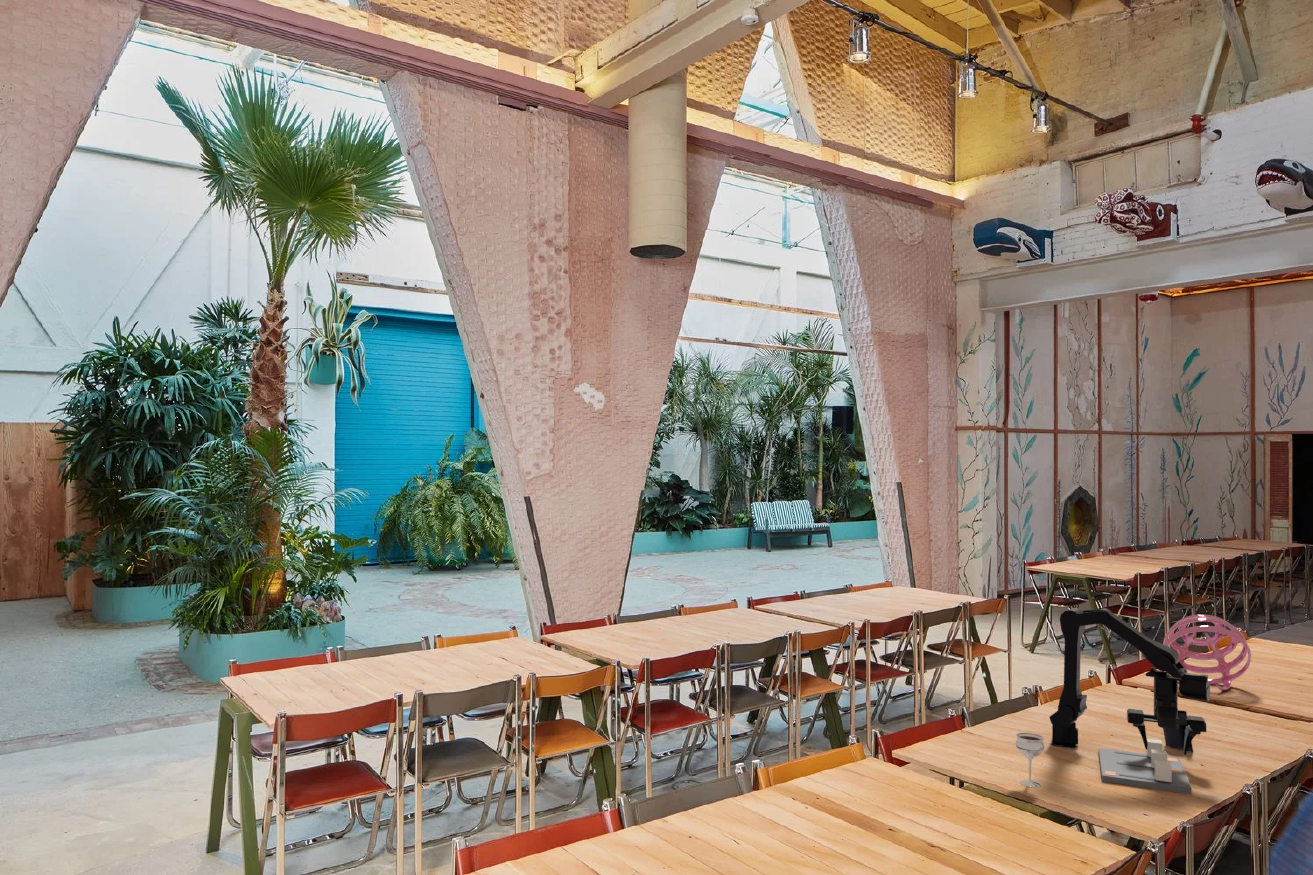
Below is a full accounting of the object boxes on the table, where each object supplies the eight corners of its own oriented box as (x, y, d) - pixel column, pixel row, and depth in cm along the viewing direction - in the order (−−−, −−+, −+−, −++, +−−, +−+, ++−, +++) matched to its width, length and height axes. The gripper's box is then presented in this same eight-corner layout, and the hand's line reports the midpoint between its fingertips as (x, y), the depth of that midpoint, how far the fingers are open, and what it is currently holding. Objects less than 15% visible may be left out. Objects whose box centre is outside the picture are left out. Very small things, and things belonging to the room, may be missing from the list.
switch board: (1102, 781, 230) (1102, 774, 230) (1098, 752, 253) (1098, 747, 253) (1191, 793, 222) (1191, 787, 222) (1179, 763, 244) (1179, 757, 244)
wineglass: (1031, 790, 223) (1031, 742, 223) (1009, 781, 229) (1009, 734, 229) (1050, 785, 226) (1050, 738, 227) (1028, 777, 232) (1028, 731, 233)
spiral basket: (1247, 647, 308) (1234, 594, 329) (1158, 656, 323) (1150, 605, 344) (1265, 703, 318) (1251, 649, 339) (1178, 710, 333) (1169, 657, 354)
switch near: (1155, 779, 226) (1155, 764, 226) (1154, 775, 229) (1154, 759, 229) (1171, 782, 224) (1171, 766, 224) (1170, 777, 227) (1170, 762, 228)
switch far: (1147, 756, 244) (1147, 741, 244) (1146, 752, 247) (1146, 738, 247) (1162, 758, 243) (1162, 743, 243) (1160, 754, 246) (1160, 740, 246)
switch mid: (1152, 767, 235) (1152, 752, 235) (1151, 763, 238) (1151, 748, 238) (1167, 769, 233) (1167, 754, 233) (1166, 765, 236) (1165, 750, 237)
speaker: (1196, 746, 259) (1191, 710, 260) (1193, 752, 255) (1188, 715, 255) (1167, 743, 264) (1162, 708, 264) (1163, 749, 259) (1158, 713, 260)
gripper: (1129, 697, 241) (1129, 755, 240) (1209, 706, 233) (1209, 765, 233) (1126, 687, 251) (1126, 743, 250) (1203, 696, 243) (1203, 753, 243)
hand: (1165, 751), depth 244 cm, fingers open, 9 cm apart
